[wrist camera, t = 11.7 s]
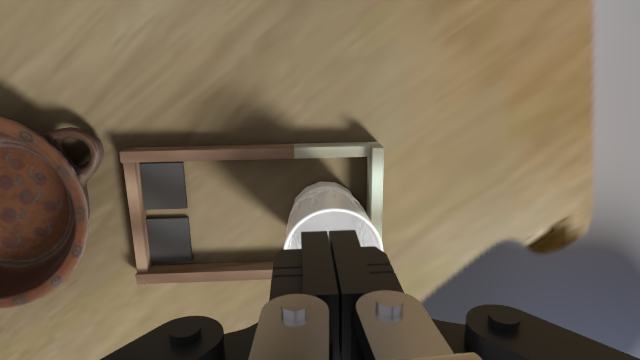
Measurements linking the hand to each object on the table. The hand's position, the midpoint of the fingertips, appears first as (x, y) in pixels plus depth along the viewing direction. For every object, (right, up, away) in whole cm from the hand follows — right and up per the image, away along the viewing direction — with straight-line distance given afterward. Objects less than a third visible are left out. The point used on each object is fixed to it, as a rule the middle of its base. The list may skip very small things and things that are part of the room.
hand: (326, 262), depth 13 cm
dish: (-29, +1, +31) cm, 43 cm away
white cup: (0, -1, +33) cm, 33 cm away
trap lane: (-7, -1, +32) cm, 33 cm away
